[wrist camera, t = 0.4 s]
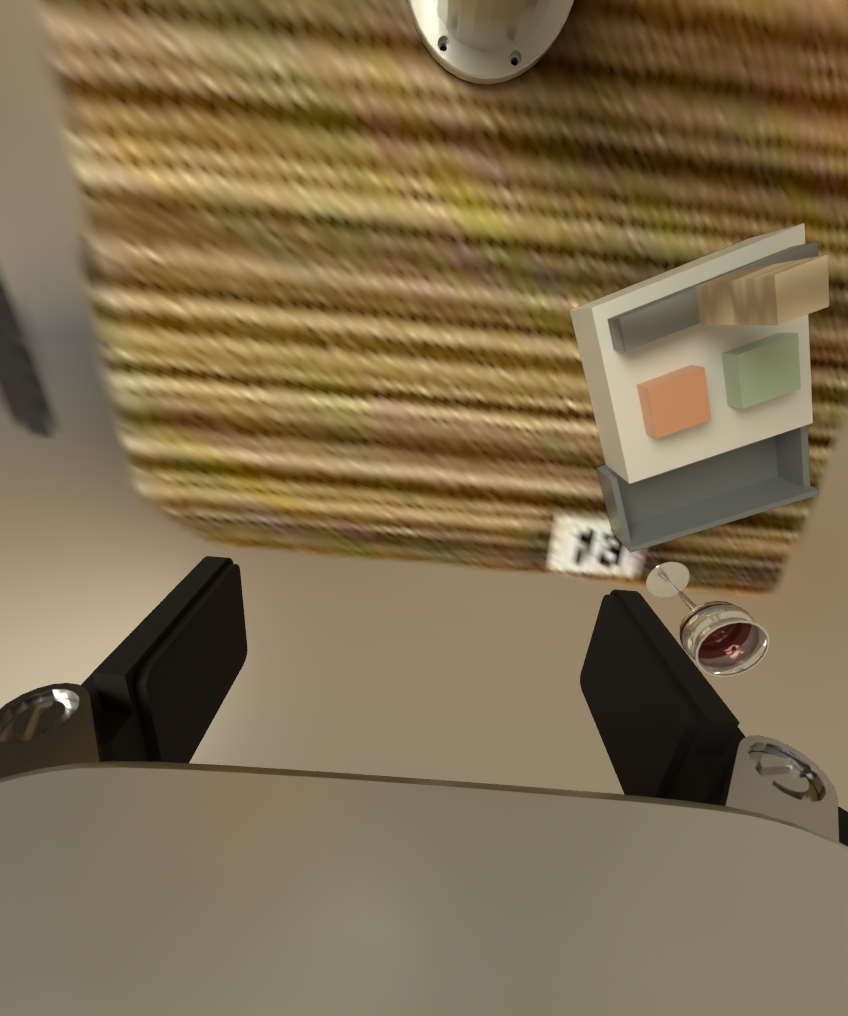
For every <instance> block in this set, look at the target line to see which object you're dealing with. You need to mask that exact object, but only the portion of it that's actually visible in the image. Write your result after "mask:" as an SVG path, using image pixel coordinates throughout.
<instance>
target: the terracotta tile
mask: <svg viewBox="0 0 848 1016" xmlns="http://www.w3.org/2000/svg"><path fill="white" fill-rule="evenodd" d="M637 390H638V395H639V400H640V405H641V411H642V416H643V421H644V426H645V431H646V434H648V435H650V436H652V437H654V438H656V439H657V438H660V437H663V436H666V435H669V434H672V433H675V432H678V431H680V430H683V429H686V428H689V427H692V426H695V425H698V424H701V423H704V422H707V421H710V420H711V413H710V405H709V398H708V390H707V383H706V375H705V367H701V366H695V365H689V366H686V367H684V368H681V369H678V370H675V371H673V372H670V373H667V374H664V375H662V376H659V377H656V378H653V379H651V380H648V381H645V382H643V383H640V384H637Z"/></svg>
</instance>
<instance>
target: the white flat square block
mask: <svg viewBox="0 0 848 1016" xmlns="http://www.w3.org/2000/svg"><path fill="white" fill-rule="evenodd" d="M802 244H805V228H804V223H803V224H799V225H796V226H792V227H788V228H785V229H781V230H777V231H774V232H770V233H766V234H763V235H759V236H756V237H752V238H749V239H746V240H744V241H741V242H739V243H736V244H734V245H731V246H729V247H726V248H724V249H721V250H719V251H716V252H714V253H711V254H709V255H706V256H704V257H701V258H699V259H696V260H694V261H691V262H689V263H686V264H684V265H681V266H679V267H677V268H674V269H672V270H669V271H667V272H664V273H662V274H659V275H657V276H654V277H652V278H649V279H647V280H644V281H642V282H639V283H637V284H634V285H632V286H629V287H627V288H624V289H622V290H619V291H617V292H614V293H612V294H609V295H607V296H604V297H602V298H599V299H597V300H594V301H592V302H589V303H587V304H584V305H582V306H579V307H577V308H574V309H572V310H570V314H571V318H572V322H573V327H574V331H575V335H576V339H577V344H578V348H579V352H580V356H581V361H582V365H583V369H584V374H585V378H586V382H587V386H588V391H589V395H590V399H591V404H592V408H593V412H594V416H595V421H596V425H597V429H598V433H599V438H600V442H601V446H602V451H603V455H604V459H605V463H606V465H607V466H608V467H609V468H610V469H612V470H613V471H614V472H615V473H617V474H618V475H619V476H620V477H622V478H623V479H624V480H625V481H627V482H628V483H629V484H631V483H634V482H637V481H640V480H643V479H646V478H649V477H652V476H655V475H658V474H661V473H664V472H667V471H670V470H673V469H676V468H679V467H682V466H685V465H688V464H691V463H694V462H697V461H700V460H703V459H706V458H709V457H712V456H715V455H718V454H721V453H724V452H727V451H730V450H733V449H736V448H739V447H742V446H745V445H748V444H751V443H754V442H757V441H760V440H763V439H766V438H769V437H772V436H775V435H778V434H781V433H784V432H787V431H790V430H793V429H796V428H799V427H802V426H805V425H808V424H811V423H813V416H812V392H811V369H810V345H809V322H808V314H807V315H804V316H802V317H799V318H796V319H793V320H791V321H788V322H785V323H783V324H780V325H700V323H699V324H697V325H694V326H691V327H689V328H686V329H684V330H681V331H678V332H676V333H673V334H670V335H668V336H665V337H662V338H660V339H657V340H655V341H652V342H649V343H647V344H644V345H641V346H639V347H636V348H633V349H631V350H628V351H620V350H614V349H613V344H612V339H611V335H610V330H609V325H608V320H607V319H609V318H611V317H614V316H616V315H619V314H621V313H624V312H626V311H629V310H631V309H634V308H637V307H639V306H642V305H644V304H647V303H649V302H652V301H654V300H657V299H659V298H662V297H665V296H667V295H670V294H672V293H675V292H677V291H680V290H682V289H685V288H687V287H690V286H693V285H695V284H698V283H700V282H703V281H705V280H708V279H710V278H713V277H715V276H718V275H721V274H723V273H726V272H728V271H731V270H733V269H736V268H738V267H741V266H743V265H746V264H748V263H751V262H754V261H756V260H759V259H761V258H764V257H766V256H769V255H771V254H774V253H776V252H779V251H782V250H784V249H787V248H789V247H792V246H797V245H802ZM776 333H798V342H799V361H800V380H801V389H799V390H797V391H794V392H791V393H788V394H785V395H782V396H779V397H776V398H773V399H770V400H768V401H765V402H762V403H759V404H756V405H753V406H750V407H747V408H744V409H741V408H737V407H733V406H730V405H727V396H726V387H725V379H724V370H723V362H722V353H725V352H727V351H730V350H733V349H735V348H738V347H741V346H744V345H746V344H749V343H752V342H755V341H757V340H760V339H763V338H766V337H768V336H771V335H774V334H776ZM689 365H695V366H701V367H705V375H706V383H707V390H708V398H709V405H710V413H711V420H710V421H707V422H704V423H701V424H698V425H695V426H692V427H689V428H686V429H683V430H680V431H678V432H675V433H672V434H669V435H666V436H663V437H660V438H657V439H656V438H654V437H652V436H650V435H648V434H646V431H645V426H644V421H643V416H642V411H641V405H640V400H639V395H638V390H637V384H640V383H643V382H645V381H648V380H651V379H653V378H656V377H659V376H662V375H664V374H667V373H670V372H673V371H675V370H678V369H681V368H684V367H686V366H689Z"/></svg>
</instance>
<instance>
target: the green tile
mask: <svg viewBox="0 0 848 1016" xmlns="http://www.w3.org/2000/svg"><path fill="white" fill-rule="evenodd" d="M722 362H723V370H724V379H725V387H726V396H727V405H730V406H733V407H737V408H741V409H744V408H747V407H750V406H753V405H756V404H759V403H762V402H765V401H768V400H770V399H773V398H776V397H779V396H782V395H785V394H788V393H791V392H794V391H797V390H799V389H801V380H800V361H799V342H798V333H776V334H774V335H771V336H768V337H766V338H763V339H760V340H757V341H755V342H752V343H749V344H746V345H744V346H741V347H738V348H735V349H733V350H730V351H727V352H725V353H722Z"/></svg>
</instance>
